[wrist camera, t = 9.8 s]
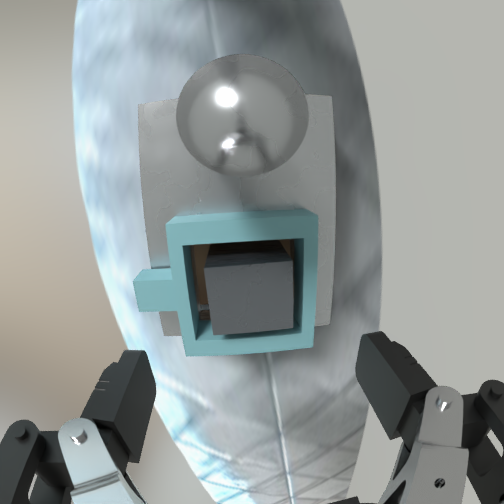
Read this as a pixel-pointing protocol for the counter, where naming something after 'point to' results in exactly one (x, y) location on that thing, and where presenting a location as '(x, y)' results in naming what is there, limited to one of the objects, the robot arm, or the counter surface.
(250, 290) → the brushed steel block
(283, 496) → the counter surface
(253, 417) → the counter surface
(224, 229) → the bracket head
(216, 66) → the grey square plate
